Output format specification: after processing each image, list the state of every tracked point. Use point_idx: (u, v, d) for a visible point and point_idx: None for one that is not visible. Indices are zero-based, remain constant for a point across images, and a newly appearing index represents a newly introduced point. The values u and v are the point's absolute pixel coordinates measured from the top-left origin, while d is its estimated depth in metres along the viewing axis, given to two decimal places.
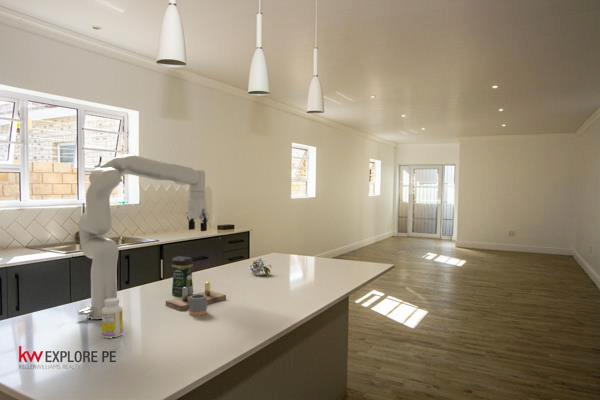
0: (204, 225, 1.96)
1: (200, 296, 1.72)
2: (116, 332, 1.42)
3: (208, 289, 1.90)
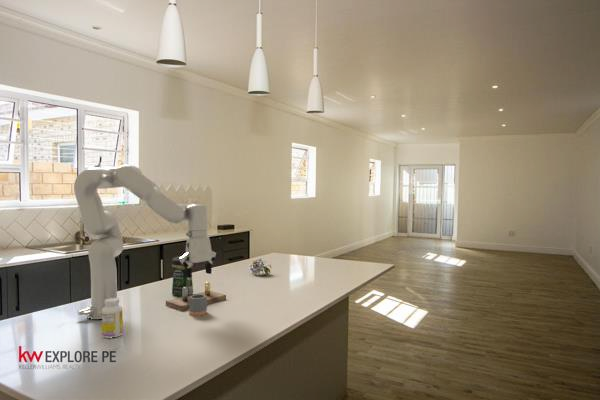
0: None
1: (200, 296, 1.72)
2: (116, 332, 1.42)
3: (208, 289, 1.90)
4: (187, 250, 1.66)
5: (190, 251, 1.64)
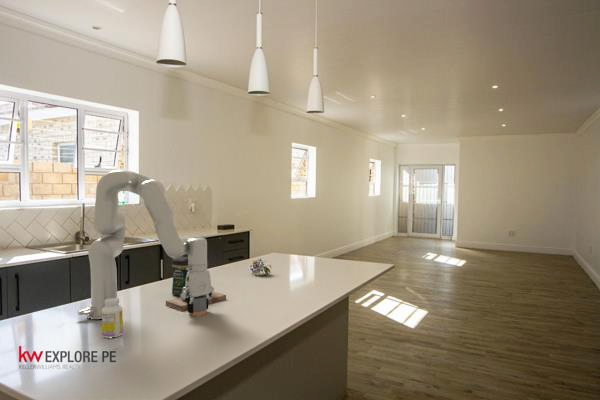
0: None
1: (200, 296, 1.72)
2: (116, 332, 1.42)
3: None
4: (187, 284, 1.66)
5: (190, 285, 1.65)
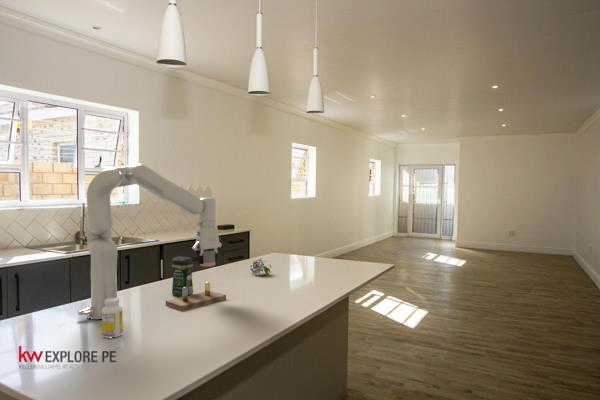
0: None
1: (209, 250, 1.92)
2: (116, 332, 1.42)
3: (208, 289, 1.90)
4: (197, 238, 1.86)
5: (200, 239, 1.85)
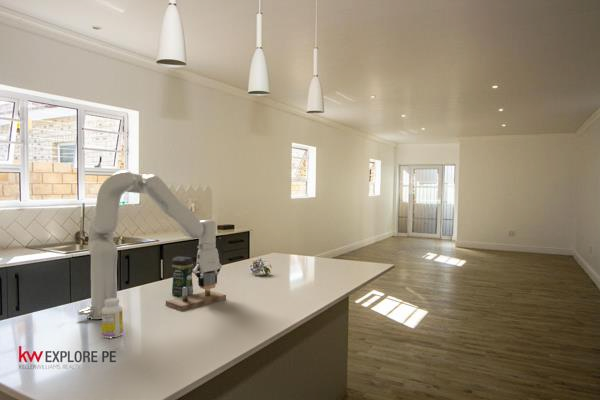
0: None
1: (209, 272, 1.93)
2: (116, 332, 1.42)
3: (208, 289, 1.90)
4: (198, 261, 1.86)
5: (200, 262, 1.85)
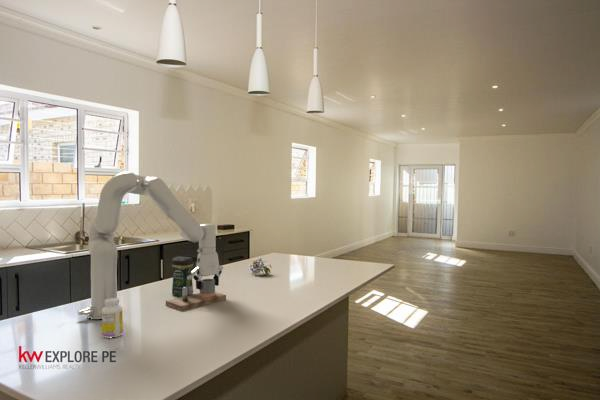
0: None
1: (209, 280, 1.93)
2: (116, 332, 1.42)
3: None
4: (198, 265, 1.86)
5: (200, 266, 1.85)
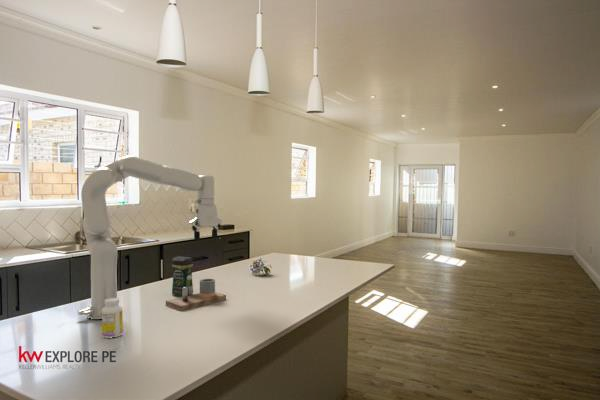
0: None
1: (209, 280, 1.93)
2: (116, 332, 1.42)
3: None
4: (196, 215, 1.85)
5: (199, 216, 1.84)
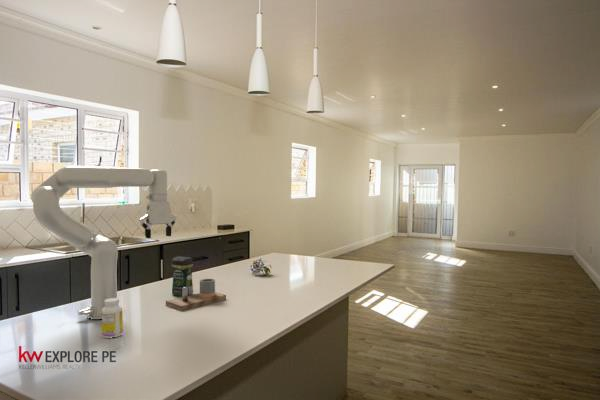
0: None
1: (209, 280, 1.93)
2: (116, 332, 1.42)
3: None
4: (147, 212, 1.76)
5: (149, 213, 1.75)
